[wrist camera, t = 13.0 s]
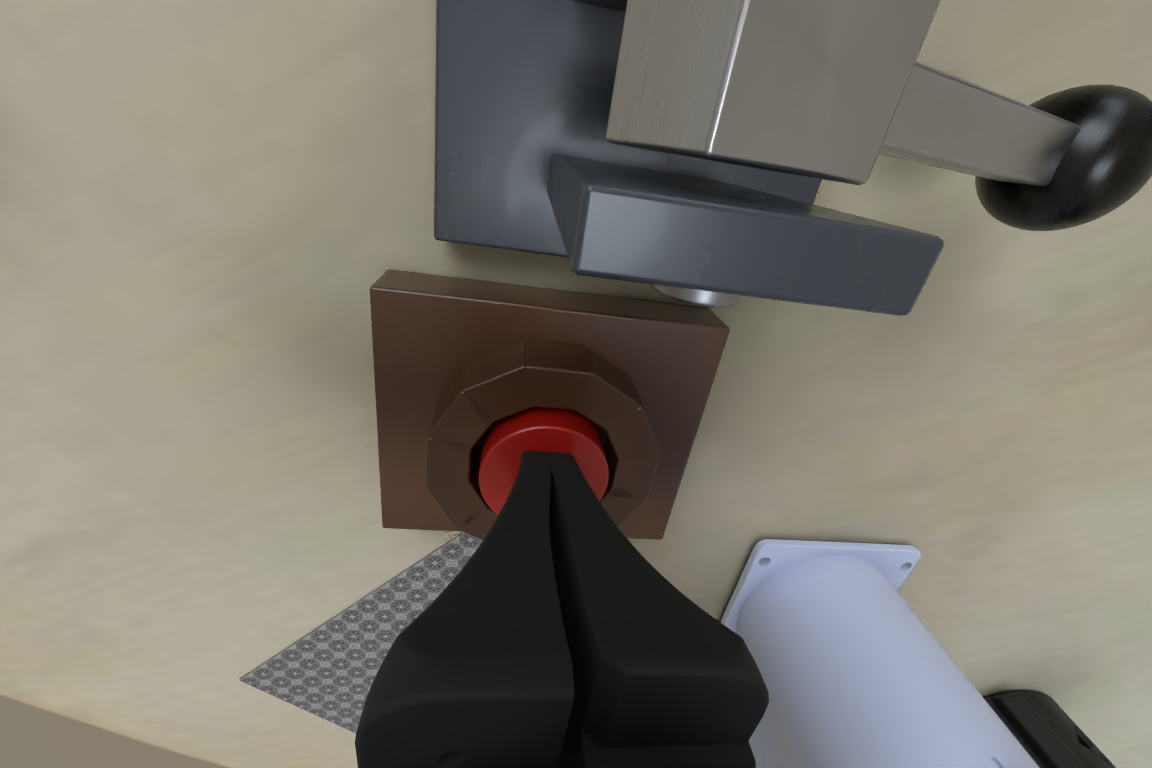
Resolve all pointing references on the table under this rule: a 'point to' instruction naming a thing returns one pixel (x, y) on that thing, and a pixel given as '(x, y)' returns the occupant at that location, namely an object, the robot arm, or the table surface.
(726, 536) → the table surface
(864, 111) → the switch lever
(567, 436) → the stop button
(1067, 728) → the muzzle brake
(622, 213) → the switch bracket
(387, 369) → the stop block
